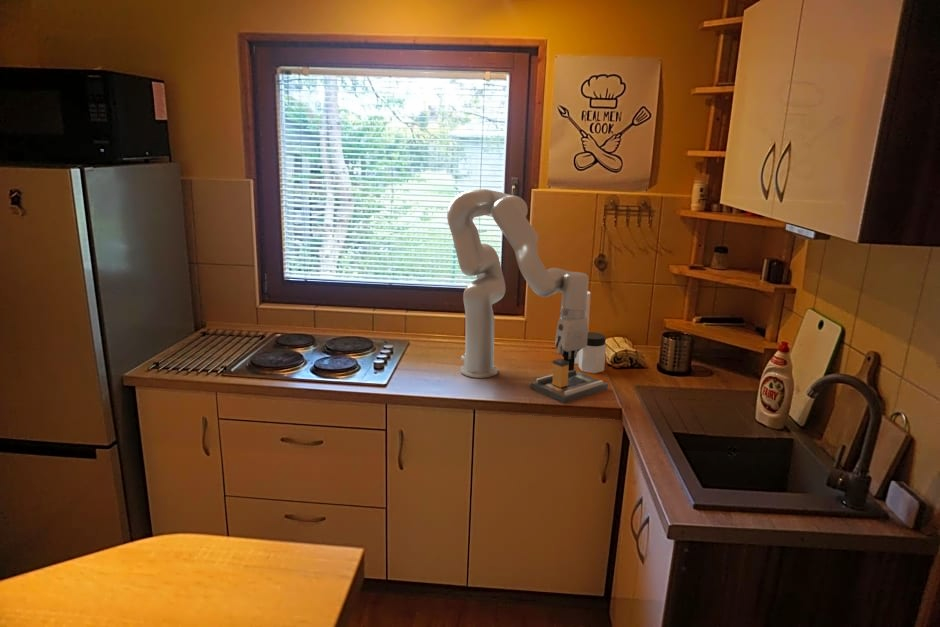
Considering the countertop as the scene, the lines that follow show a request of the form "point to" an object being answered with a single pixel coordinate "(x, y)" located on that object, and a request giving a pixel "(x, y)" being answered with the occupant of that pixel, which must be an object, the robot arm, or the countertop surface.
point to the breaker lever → (560, 372)
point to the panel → (573, 382)
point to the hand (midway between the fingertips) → (568, 369)
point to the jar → (593, 353)
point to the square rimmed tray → (571, 391)
